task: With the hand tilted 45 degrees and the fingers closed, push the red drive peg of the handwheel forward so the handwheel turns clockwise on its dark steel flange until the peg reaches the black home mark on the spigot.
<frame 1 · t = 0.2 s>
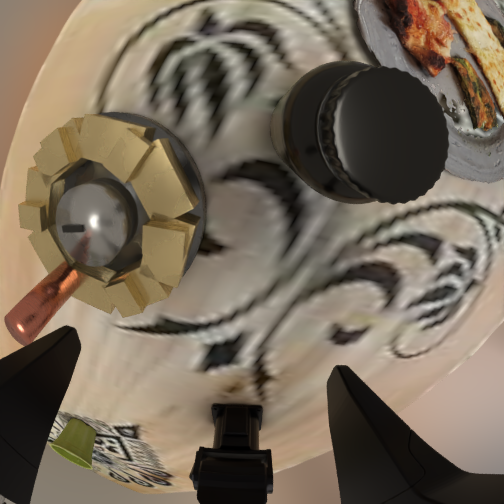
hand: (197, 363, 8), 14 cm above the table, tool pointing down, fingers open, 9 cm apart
plant pot: (83, 425, 38), on the table
flange: (113, 209, 20), on the table
handwheel: (70, 238, 14), point 6 cm above the table, hinge at 50.0°
supplement bottle: (315, 131, 18), on the table
food plate: (461, 55, 14), on the table
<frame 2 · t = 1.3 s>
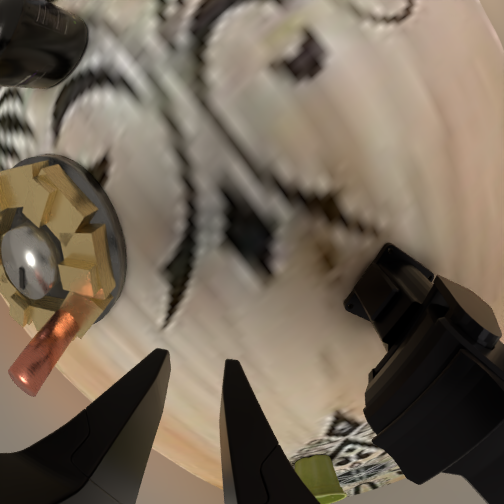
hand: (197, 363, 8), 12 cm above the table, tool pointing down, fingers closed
plant pot: (312, 459, 35), on the table
flange: (52, 244, 19), on the table
handwheel: (7, 277, 13), point 6 cm above the table, hinge at 50.0°
supplement bottle: (59, 52, 13), on the table
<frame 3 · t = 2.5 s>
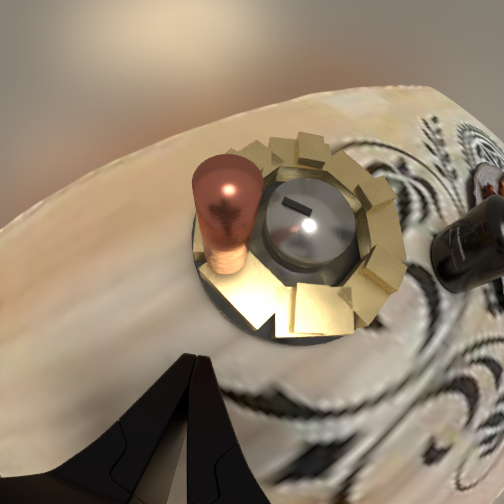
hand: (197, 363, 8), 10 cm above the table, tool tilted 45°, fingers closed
flange: (297, 242, 21), on the table
handwheel: (322, 199, 15), point 6 cm above the table, hinge at 50.0°
supplement bottle: (450, 263, 23), on the table
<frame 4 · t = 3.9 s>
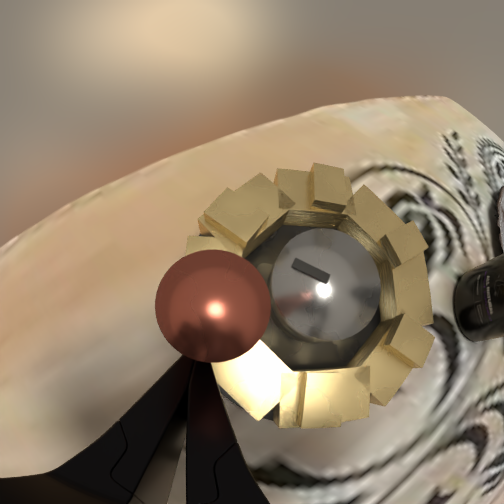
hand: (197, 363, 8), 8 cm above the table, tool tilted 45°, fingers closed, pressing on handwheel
flange: (307, 299, 18), on the table
handwheel: (346, 269, 12), point 6 cm above the table, hinge at 49.8°, touching gripper
supplement bottle: (472, 308, 19), on the table
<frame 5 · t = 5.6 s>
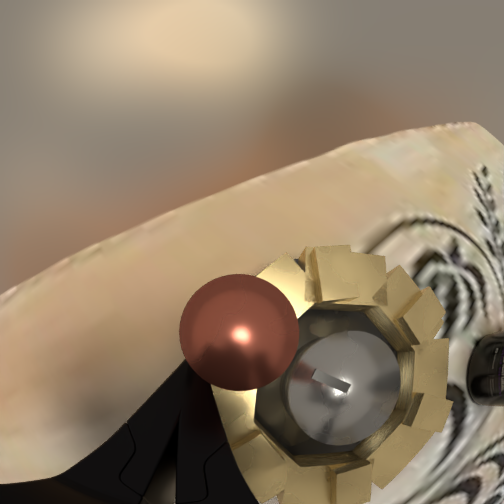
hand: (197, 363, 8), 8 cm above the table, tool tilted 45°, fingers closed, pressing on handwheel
flange: (322, 382, 15), on the table
handwheel: (368, 394, 9), point 6 cm above the table, hinge at 3.1°, touching gripper
supplement bottle: (484, 370, 16), on the table
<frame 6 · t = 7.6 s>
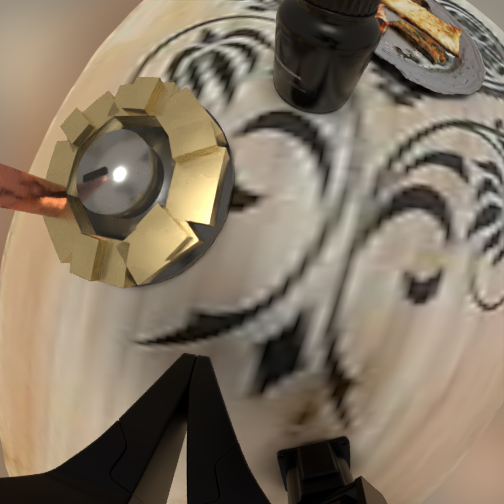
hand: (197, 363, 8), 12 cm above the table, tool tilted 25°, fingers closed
flange: (136, 185, 20), on the table
handwheel: (93, 160, 14), point 6 cm above the table, hinge at 3.1°
supplement bottle: (312, 85, 20), on the table
food plate: (397, 22, 20), on the table
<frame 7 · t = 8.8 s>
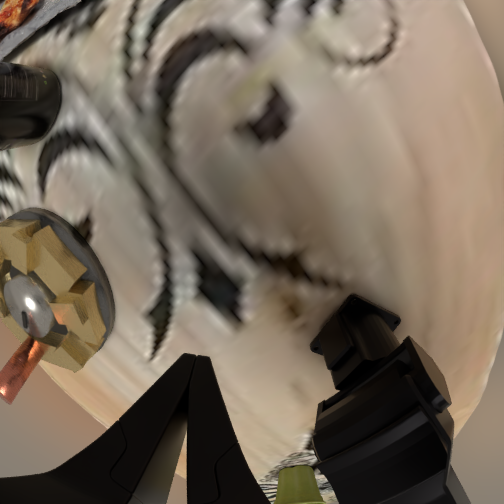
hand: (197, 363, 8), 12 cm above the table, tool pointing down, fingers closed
plant pot: (295, 469, 37), on the table
flange: (49, 286, 21), on the table
handwheel: (12, 322, 15), point 6 cm above the table, hinge at 3.1°
supplement bottle: (38, 106, 15), on the table
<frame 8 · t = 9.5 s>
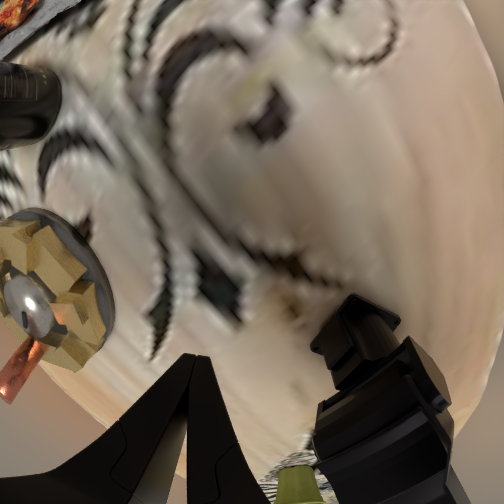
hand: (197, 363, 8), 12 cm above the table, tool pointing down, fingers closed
plant pot: (295, 469, 37), on the table
flange: (49, 286, 21), on the table
handwheel: (12, 322, 15), point 6 cm above the table, hinge at 3.1°
supplement bottle: (38, 106, 15), on the table
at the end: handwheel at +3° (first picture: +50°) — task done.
